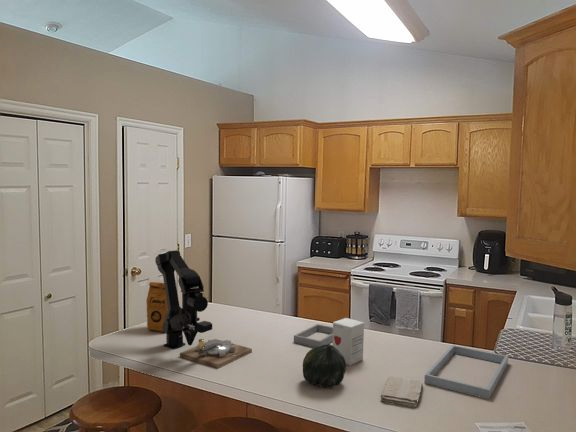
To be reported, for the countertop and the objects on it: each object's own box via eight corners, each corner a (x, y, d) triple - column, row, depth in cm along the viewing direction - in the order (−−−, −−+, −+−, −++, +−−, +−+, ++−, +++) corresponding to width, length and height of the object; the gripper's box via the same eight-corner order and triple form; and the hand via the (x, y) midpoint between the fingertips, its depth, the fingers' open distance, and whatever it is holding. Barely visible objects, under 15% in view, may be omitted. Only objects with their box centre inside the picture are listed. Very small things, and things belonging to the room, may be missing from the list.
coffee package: (166, 334, 212) (166, 286, 210) (143, 331, 216) (143, 283, 215) (179, 328, 221) (179, 281, 220) (157, 325, 226) (156, 279, 224)
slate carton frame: (424, 383, 165) (424, 374, 165) (452, 352, 195) (452, 344, 195) (489, 399, 154) (489, 390, 153) (507, 363, 184) (508, 356, 183)
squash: (302, 356, 174) (304, 335, 163) (343, 359, 173) (348, 338, 163) (301, 394, 164) (302, 375, 153) (344, 397, 164) (349, 378, 153)
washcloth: (379, 403, 151) (379, 394, 150) (387, 381, 168) (388, 372, 167) (418, 410, 147) (418, 400, 146) (422, 386, 163) (423, 378, 163)
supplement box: (331, 359, 186) (331, 321, 184) (344, 353, 192) (345, 317, 191) (350, 366, 179) (351, 327, 178) (363, 359, 186) (364, 322, 185)
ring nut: (186, 354, 185) (186, 336, 185) (215, 341, 199) (215, 325, 199) (213, 362, 177) (213, 344, 177) (242, 348, 191) (242, 332, 191)
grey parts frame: (293, 342, 204) (293, 335, 204) (317, 330, 221) (317, 323, 221) (320, 348, 197) (320, 341, 197) (342, 335, 214) (342, 329, 213)
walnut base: (179, 356, 186) (179, 352, 186) (214, 342, 203) (214, 338, 203) (218, 368, 175) (218, 364, 175) (251, 352, 192) (251, 348, 192)
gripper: (156, 306, 182) (157, 346, 184) (192, 314, 172) (192, 356, 173) (178, 300, 192) (178, 338, 193) (213, 307, 181) (213, 347, 182)
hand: (189, 345), depth 185 cm, fingers closed
